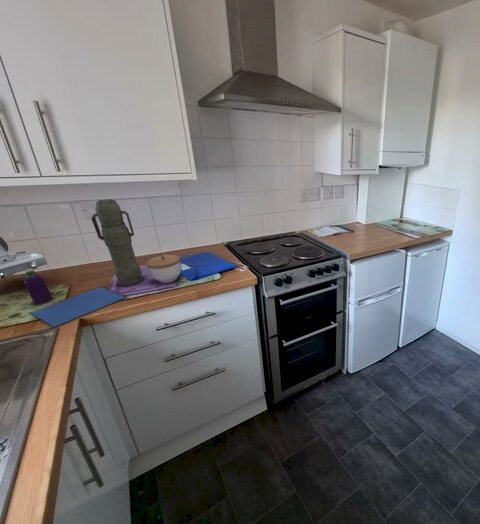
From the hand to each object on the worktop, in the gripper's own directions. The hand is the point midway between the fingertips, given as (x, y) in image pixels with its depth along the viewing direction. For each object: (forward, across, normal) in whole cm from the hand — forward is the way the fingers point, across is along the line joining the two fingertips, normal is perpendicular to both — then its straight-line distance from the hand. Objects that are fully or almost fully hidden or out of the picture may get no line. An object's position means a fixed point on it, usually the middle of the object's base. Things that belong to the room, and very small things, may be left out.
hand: (19, 271), depth 116 cm
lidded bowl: (+37, +34, +10) cm, 51 cm away
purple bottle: (+13, 0, +9) cm, 16 cm away
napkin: (+29, +5, +9) cm, 31 cm away
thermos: (+25, +25, +10) cm, 37 cm away
